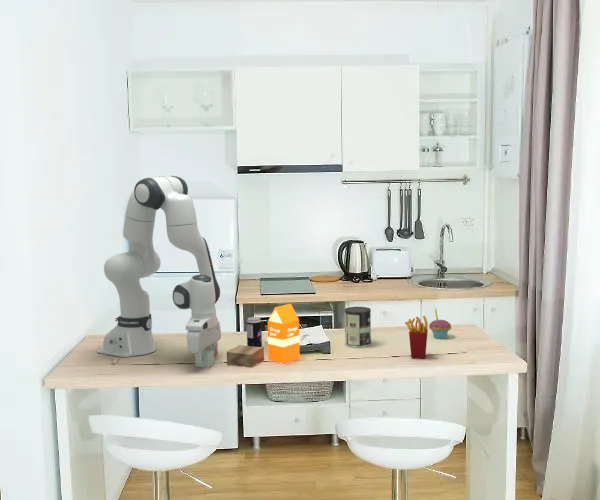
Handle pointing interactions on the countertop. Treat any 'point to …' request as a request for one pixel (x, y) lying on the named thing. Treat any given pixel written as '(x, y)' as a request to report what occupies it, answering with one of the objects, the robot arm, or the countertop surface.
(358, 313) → the coffee can
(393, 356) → the countertop surface
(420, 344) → the french fries
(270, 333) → the orange juice
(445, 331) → the cupcake
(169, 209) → the robot arm
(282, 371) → the countertop surface
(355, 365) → the countertop surface
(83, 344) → the countertop surface
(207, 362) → the sage cube
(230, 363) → the walnut block
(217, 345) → the terracotta cube
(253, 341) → the beverage can
